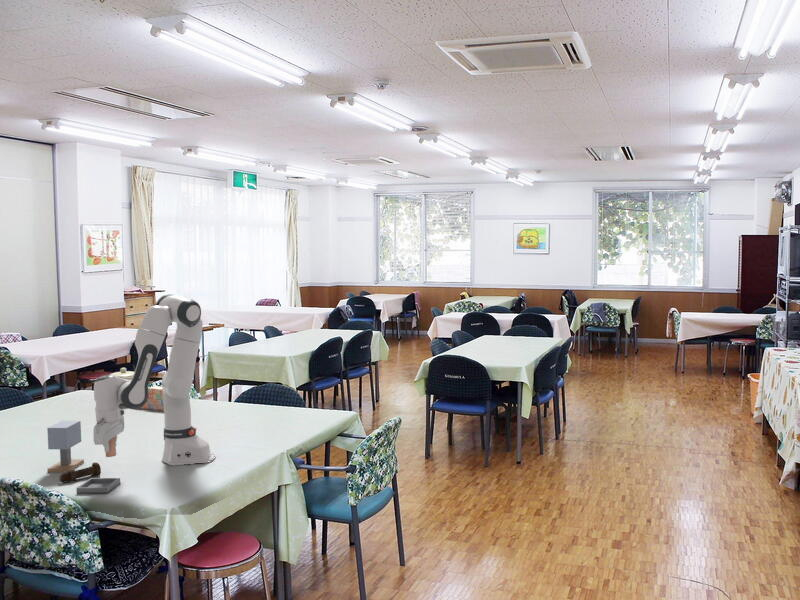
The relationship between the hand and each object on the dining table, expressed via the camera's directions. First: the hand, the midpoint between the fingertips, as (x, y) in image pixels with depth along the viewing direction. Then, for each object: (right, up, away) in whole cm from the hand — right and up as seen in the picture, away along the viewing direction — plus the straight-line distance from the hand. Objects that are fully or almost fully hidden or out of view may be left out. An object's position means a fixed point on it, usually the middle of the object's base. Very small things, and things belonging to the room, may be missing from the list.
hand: (110, 449), depth 289 cm
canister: (-48, -1, +139) cm, 147 cm away
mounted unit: (-24, -11, +13) cm, 29 cm away
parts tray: (+1, -12, -14) cm, 19 cm away
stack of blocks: (-25, -2, +124) cm, 126 cm away
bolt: (-12, -12, -2) cm, 17 cm away
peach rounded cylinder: (0, -3, 0) cm, 3 cm away
